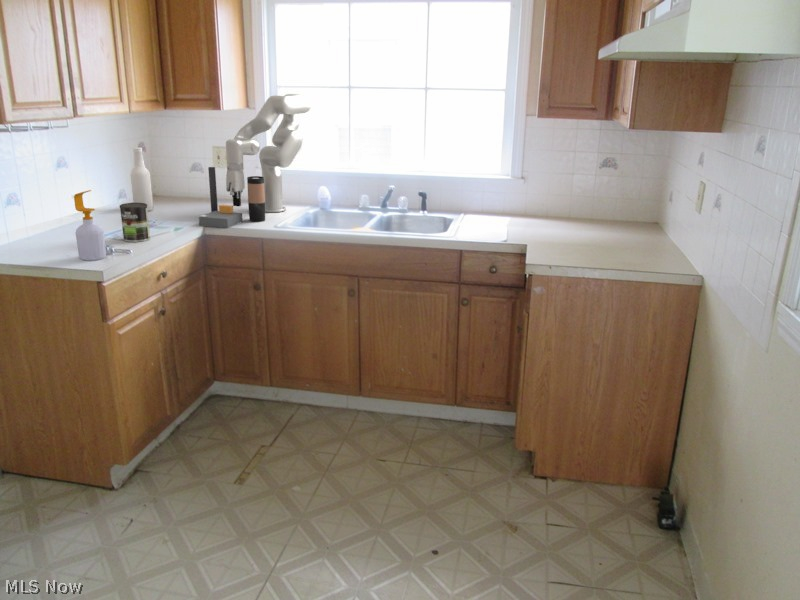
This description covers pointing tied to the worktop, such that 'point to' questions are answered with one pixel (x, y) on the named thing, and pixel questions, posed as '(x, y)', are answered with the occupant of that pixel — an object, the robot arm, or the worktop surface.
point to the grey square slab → (220, 219)
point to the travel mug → (256, 198)
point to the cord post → (213, 189)
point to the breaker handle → (225, 209)
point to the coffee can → (135, 222)
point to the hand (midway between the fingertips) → (237, 205)
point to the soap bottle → (89, 234)
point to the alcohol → (141, 181)
